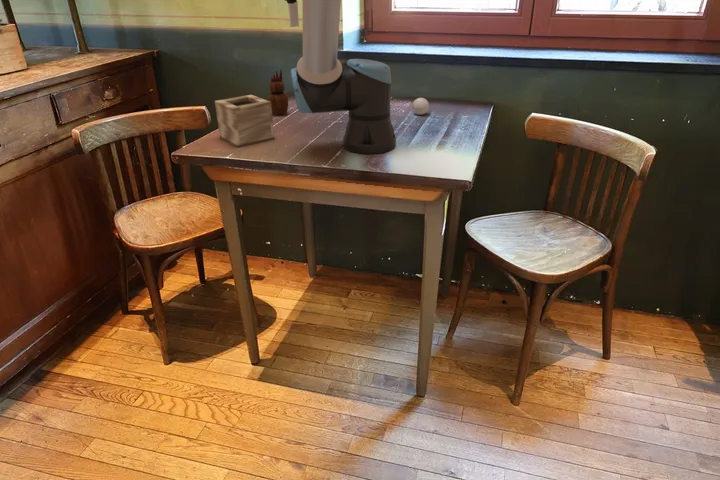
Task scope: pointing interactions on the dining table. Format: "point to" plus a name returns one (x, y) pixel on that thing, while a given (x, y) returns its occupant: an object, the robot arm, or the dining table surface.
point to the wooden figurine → (278, 95)
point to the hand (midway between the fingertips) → (306, 28)
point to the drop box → (245, 120)
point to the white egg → (420, 106)
